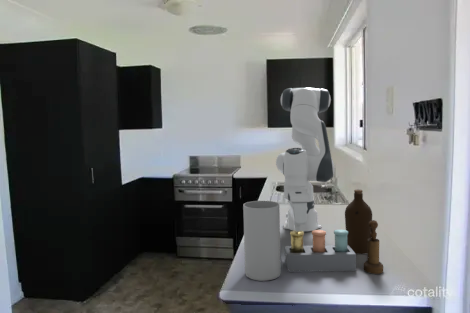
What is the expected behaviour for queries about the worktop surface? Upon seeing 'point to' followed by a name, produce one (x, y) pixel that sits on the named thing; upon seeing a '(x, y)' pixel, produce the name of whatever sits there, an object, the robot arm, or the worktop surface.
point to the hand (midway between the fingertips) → (297, 230)
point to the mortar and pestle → (373, 252)
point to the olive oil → (358, 223)
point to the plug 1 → (296, 241)
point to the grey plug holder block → (320, 260)
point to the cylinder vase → (262, 240)
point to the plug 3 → (340, 240)
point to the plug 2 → (318, 241)
